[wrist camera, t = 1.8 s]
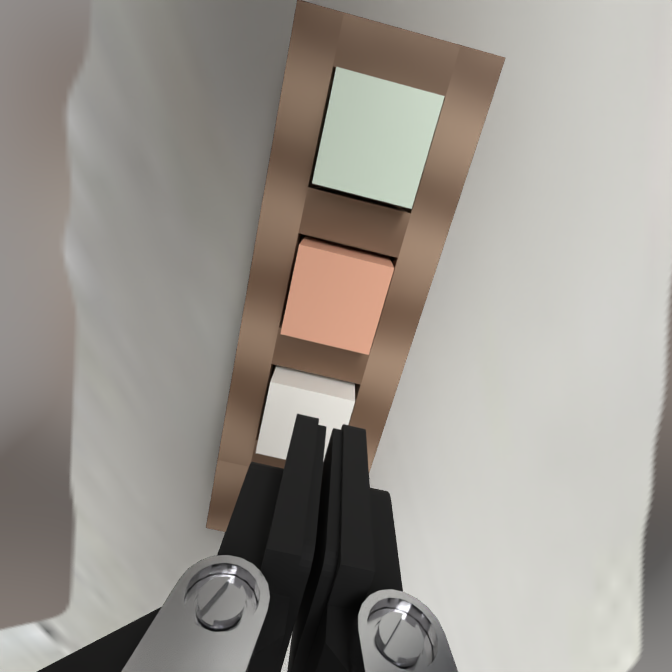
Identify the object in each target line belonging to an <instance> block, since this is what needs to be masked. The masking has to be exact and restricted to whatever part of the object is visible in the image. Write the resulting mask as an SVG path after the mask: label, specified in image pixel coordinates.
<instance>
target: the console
mask: <svg viewBox="0 0 672 672" xmlns="http://www.w3.org/2000/svg"><path fill="white" fill-rule="evenodd" d="M504 61H505V57H501V56H497V55H494V54H490V53H487V52H483V51H480V50H476V49H472V48H469V47H465V46H462V45H458V44H455V43H451V42H447V41H444V40H440V39H437V38H433V37H430V36H426V35H423V34H419V33H415V32H412V31H408V30H405V29H401V28H398V27H394V26H390V25H387V24H383V23H380V22H376V21H373V20H369V19H365V18H362V17H358V16H355V15H351V14H348V13H344V12H340V11H337V10H333V9H330V8H326V7H323V6H319V5H316V4H312V3H308V2H305V1H301V0H297V4H296V10H295V15H294V21H293V27H292V33H291V38H290V44H289V50H288V56H287V62H286V67H285V73H284V79H283V85H282V90H281V96H280V102H279V108H278V114H277V119H276V125H275V131H274V137H273V142H272V148H271V154H270V160H269V166H268V171H267V177H266V183H265V189H264V194H263V200H262V206H261V212H260V218H259V223H258V229H257V235H256V241H255V246H254V252H253V258H252V264H251V270H250V275H249V281H248V287H247V293H246V298H245V304H244V310H243V316H242V321H241V327H240V333H239V339H238V345H237V350H236V356H235V362H234V368H233V373H232V379H231V385H230V391H229V397H228V402H227V408H226V414H225V420H224V425H223V431H222V437H221V443H220V449H219V454H218V460H217V466H216V472H215V477H214V483H213V489H212V495H211V501H210V506H209V512H208V518H207V524H206V528H209V529H214V530H219V531H223V532H226V529H227V527H228V524H229V521H230V518H231V515H232V513H233V510H234V507H235V504H236V501H237V499H238V496H239V493H240V490H241V487H242V484H243V482H244V479H245V476H246V473H247V470H248V468H249V465H250V463H251V461H252V462H256V463H261V464H265V465H270V466H274V467H279V468H283V469H284V466H285V461H286V460H285V459H280V458H276V457H271V456H267V455H262V454H258V453H256V448H257V443H258V439H259V434H260V429H261V424H262V419H263V415H264V410H265V405H266V400H267V396H268V391H269V386H270V382H271V379H272V376H273V374H274V371H275V369H276V366H277V365H279V366H283V367H287V368H292V369H296V370H300V371H305V372H309V373H313V374H317V375H322V376H326V377H330V378H335V379H339V380H343V381H348V382H352V383H355V404H354V407H353V410H352V414H351V417H350V421H349V424H348V425H350V426H354V427H358V428H363V429H366V438H367V453H368V469H369V472H370V468H371V465H372V462H373V459H374V456H375V453H376V450H377V447H378V444H379V441H380V438H381V435H382V432H383V429H384V426H385V423H386V420H387V417H388V414H389V411H390V408H391V405H392V402H393V399H394V396H395V392H396V389H397V386H398V383H399V380H400V377H401V374H402V371H403V368H404V365H405V362H406V359H407V356H408V353H409V350H410V347H411V344H412V341H413V338H414V335H415V332H416V329H417V326H418V323H419V319H420V316H421V313H422V310H423V307H424V304H425V301H426V298H427V295H428V292H429V289H430V286H431V283H432V280H433V277H434V274H435V271H436V268H437V265H438V262H439V259H440V256H441V253H442V250H443V246H444V243H445V240H446V237H447V234H448V231H449V228H450V225H451V222H452V219H453V216H454V213H455V210H456V207H457V204H458V201H459V198H460V195H461V192H462V189H463V186H464V183H465V180H466V177H467V174H468V170H469V167H470V164H471V161H472V158H473V155H474V152H475V149H476V146H477V143H478V140H479V137H480V134H481V131H482V128H483V125H484V122H485V119H486V116H487V113H488V110H489V107H490V104H491V101H492V97H493V94H494V91H495V88H496V85H497V82H498V79H499V76H500V73H501V70H502V67H503V64H504ZM336 67H339V68H343V69H347V70H350V71H354V72H358V73H361V74H365V75H369V76H372V77H376V78H380V79H383V80H387V81H391V82H394V83H398V84H402V85H405V86H409V87H413V88H416V89H420V90H424V91H427V92H431V93H435V94H438V95H442V96H445V97H444V100H443V104H442V107H441V111H440V114H439V117H438V121H437V124H436V128H435V131H434V134H433V138H432V141H431V145H430V148H429V151H428V155H427V158H426V162H425V165H424V169H423V172H422V175H421V179H420V182H419V186H418V189H417V192H416V196H415V199H414V203H413V206H412V209H410V208H406V207H402V206H398V205H394V204H391V203H387V202H383V201H379V200H375V199H371V198H367V197H363V196H359V195H356V194H352V193H348V192H344V191H340V190H336V189H332V188H328V187H324V186H321V185H317V184H313V183H312V181H313V176H314V171H315V167H316V162H317V157H318V152H319V148H320V143H321V138H322V133H323V128H324V124H325V119H326V114H327V109H328V105H329V100H330V95H331V90H332V85H333V81H334V76H335V71H336ZM305 236H307V237H311V238H315V239H319V240H323V241H327V242H331V243H335V244H339V245H343V246H347V247H351V248H355V249H359V250H363V251H367V252H371V253H375V254H379V255H383V256H387V257H389V258H390V260H391V262H392V264H393V266H394V271H393V274H392V278H391V281H390V284H389V288H388V291H387V295H386V298H385V301H384V305H383V308H382V312H381V315H380V318H379V322H378V325H377V329H376V332H375V335H374V339H373V342H372V346H371V349H370V352H369V355H367V354H362V353H358V352H354V351H350V350H346V349H341V348H337V347H333V346H329V345H324V344H320V343H316V342H312V341H308V340H303V339H299V338H295V337H291V336H286V335H282V334H281V329H282V324H283V319H284V315H285V310H286V305H287V300H288V295H289V291H290V286H291V281H292V276H293V272H294V267H295V262H296V257H297V252H298V248H299V244H300V243H301V241H302V240H303V239H304V237H305Z"/></svg>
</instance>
